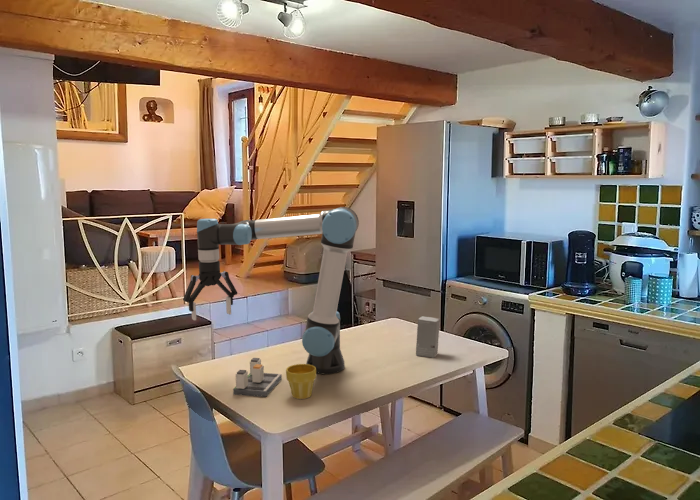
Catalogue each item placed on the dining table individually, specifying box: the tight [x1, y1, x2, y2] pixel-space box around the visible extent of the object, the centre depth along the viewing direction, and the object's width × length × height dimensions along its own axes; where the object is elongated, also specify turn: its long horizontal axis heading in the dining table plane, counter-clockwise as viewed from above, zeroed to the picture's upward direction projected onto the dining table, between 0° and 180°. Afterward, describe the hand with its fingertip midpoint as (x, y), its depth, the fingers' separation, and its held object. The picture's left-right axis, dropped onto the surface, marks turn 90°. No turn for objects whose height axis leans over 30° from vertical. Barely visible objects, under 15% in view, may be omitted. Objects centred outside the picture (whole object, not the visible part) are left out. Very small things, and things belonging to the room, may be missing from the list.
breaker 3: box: [252, 363, 265, 383], centre depth 201 cm, size 3×4×6 cm
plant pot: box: [285, 363, 317, 400], centre depth 193 cm, size 10×10×10 cm
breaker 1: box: [235, 369, 249, 389], centre depth 195 cm, size 3×4×6 cm
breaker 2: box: [249, 357, 262, 375], centre depth 208 cm, size 3×4×6 cm
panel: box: [232, 372, 283, 398], centre depth 201 cm, size 12×17×2 cm
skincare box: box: [415, 315, 441, 359], centre depth 236 cm, size 8×7×16 cm
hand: (211, 316), depth 209 cm, fingers open, 13 cm apart
